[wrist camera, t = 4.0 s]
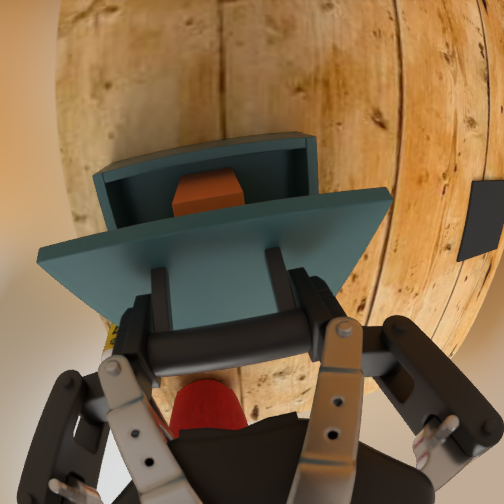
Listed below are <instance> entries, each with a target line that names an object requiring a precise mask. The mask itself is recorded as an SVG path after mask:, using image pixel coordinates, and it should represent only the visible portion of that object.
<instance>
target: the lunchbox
mask: <svg viewBox="0 0 504 504" xmlns="http://www.w3.org/2000/svg"><path fill="white" fill-rule="evenodd" d="M229 167H231V168H232V170H233V172H234V174H235V176H236V178H237V180H238V182H239V184H240V186H241V189H242V191H243V195H244V203H245V205H246V204H253V203H259V202H266V201H272V200H279V199H286V198H294V197H301V196H309V195H316V194H319V189H318V162H317V142H316V137H315V136H312V135H308V134H304V133H301V132H297V131H296V132H283V133H272V134H263V135H254V136H246V137H238V138H231V139H224V140H217V141H211V142H205V143H199V144H194V145H188V146H183V147H178V148H173V149H168V150H164V151H159V152H155V153H150V154H146V155H142V156H138V157H134V158H130V159H126V160H122V161H119V162H115V163H111V164H110V165H108V166H106V167H105V168H103V169H102V170H100V171H99V172H97V173H95V174H94V175H93V176H92V177H93V181H94V184H95V188H96V192H97V196H98V199H99V203H100V206H101V210H102V213H103V216H104V220H105V223H106V226H107V229H108V231H111V230H115V229H119V228H124V227H129V226H133V225H138V224H143V223H148V222H152V221H157V220H162V219H167V218H173V217H175V216H174V211H173V207H172V202H173V199H174V196H175V193H176V190H177V187H178V184H179V181H180V178H181V176H183V175H188V174H194V173H199V172H205V171H210V170H216V169H223V168H229Z"/></svg>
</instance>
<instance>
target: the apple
mask: <svg viewBox="0 0 504 504" xmlns="http://www.w3.org/2000/svg"><path fill="white" fill-rule="evenodd" d="M246 426H248V424H247V420H246V417H245V415H244V412H243V410H242V408H241V405H240V403H239V401H238V398H237V396H236V395H235V393H234V392H233V390H232V389H230V388H228V387H227V386H225V385H223V384H222V383H220V382H218V381H217V380H213V379H201V380H198V381H195V382H193V383H191V384H189V385H186V386H184V387H183V388H182V389H181V390H180V391H178V392H177V395H176V398H175V402H174V406H173V410H172V415H171V419H170V424H169V428H170V430H171V431H172V433H173V434H174V435H175V437H176V438H178V437H179V430H180V429H193V428H203V427H210V428H220V429H231V430H238V429H241V428H244V427H246Z"/></svg>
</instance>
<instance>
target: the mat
mask: <svg viewBox="0 0 504 504" xmlns="http://www.w3.org/2000/svg"><path fill="white" fill-rule="evenodd" d="M503 224H504V180H490V181H472V186H471V193H470V200H469V206H468V212H467V217H466V222H465V227H464V232H463V237H462V241H461V245H460V249H459V253H458V257H457V262H460V261H463V260H466V259H469V258H472V257H475V256H478V255H481V254H484V253H486V252H489V251H492V250H495V249H497V247H498V244H499V240H500V236H501V232H502V228H503Z"/></svg>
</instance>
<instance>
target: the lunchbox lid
mask: <svg viewBox="0 0 504 504" xmlns="http://www.w3.org/2000/svg"><path fill="white" fill-rule="evenodd" d="M392 202H393V198H392V196H391V194H390V193H389V191H388V189H387V188H386V187H379V188H369V189H359V190H350V191H341V192H333V193H324V194H316V195H309V196H301V197H294V198H286V199H279V200H272V201H266V202H259V203H253V204H246V205H240V206H234V207H228V208H222V209H216V210H210V211H205V212H199V213H194V214H188V215H183V216H178V217H173V218H167V219H162V220H157V221H152V222H148V223H143V224H138V225H133V226H129V227H124V228H119V229H115V230H111V231H106V232H102V233H97V234H93V235H89V236H85V237H81V238H77V239H73V240H69V241H65V242H61V243H57V244H53V245H49V246H45V247H42V248H40V249H39V252H38V256H37V264H38V265H39V266H40V267H42V268H43V269H44V270H45V271H46V272H47V273H48V274H50V275H51V276H52V277H53V278H55V279H56V280H57V281H58V282H59V283H60V284H62V285H63V286H64V287H65V288H66V289H68V290H69V291H70V292H71V293H73V294H74V295H75V296H77V297H78V298H79V299H80V300H82V301H83V302H84V303H86V304H87V305H89V306H90V307H91V308H92V309H94V310H95V311H97V312H98V313H99V314H101V315H102V316H103V317H105V318H106V319H108V320H109V321H111V322H112V323H113V324H115V325H116V326H118V327H119V326H120V325H119V324H120V320H121V317H122V315H123V314H124V312H125V311H126V310H127V308H131V307H133V305H134V301H135V297H136V296H138V295H144V294H150V293H151V298H152V316H153V330H154V333H150V334H149V335H148V338H147V356H148V361H149V365H150V367H151V370H152V372H153V374H154V375H155V376H156V377H169V376H178V375H187V374H195V373H203V372H210V371H217V370H223V369H229V368H235V367H241V366H246V365H252V364H257V363H262V362H267V361H272V360H277V359H281V358H286V357H290V356H294V355H299V354H303V353H307V352H310V351H311V349H312V337H311V330H310V326H309V322H308V319H307V316H306V314H305V312H304V310H303V309H302V308H297V306H296V302H295V298H294V295H293V291H292V287H291V284H290V280H289V277H288V273H287V270H290V269H295V268H300V267H304V268H305V270H306V272H307V273H308V275H309V277H311V276H318V277H320V278H321V279H323V280H324V281H325V282H326V284H327V285H328V287H329V289H330V290H331V291H332V293H333V295H334V296H336V295H337V293H338V292H339V290H340V289H341V287H342V286H343V284H344V283H345V281H346V280H347V278H348V277H349V275H350V274H351V272H352V270H353V269H354V267H355V266H356V264H357V262H358V261H359V259H360V258H361V256H362V254H363V253H364V251H365V249H366V248H367V246H368V244H369V243H370V241H371V239H372V238H373V236H374V234H375V232H376V231H377V229H378V227H379V225H380V224H381V222H382V220H383V218H384V217H385V215H386V213H387V211H388V209H389V207H390V206H391V204H392Z"/></svg>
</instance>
